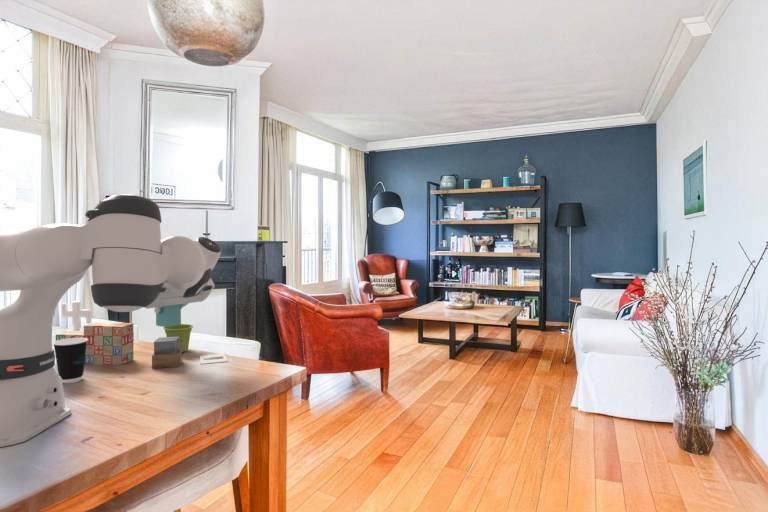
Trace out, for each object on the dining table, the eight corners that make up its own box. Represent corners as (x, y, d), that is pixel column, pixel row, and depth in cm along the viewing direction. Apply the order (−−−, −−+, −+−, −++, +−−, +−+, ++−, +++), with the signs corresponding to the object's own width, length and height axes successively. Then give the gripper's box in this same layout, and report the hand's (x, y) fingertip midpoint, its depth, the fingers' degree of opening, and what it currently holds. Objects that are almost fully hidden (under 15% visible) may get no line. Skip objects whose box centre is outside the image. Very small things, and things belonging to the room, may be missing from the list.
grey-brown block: (177, 367, 137) (176, 341, 137) (151, 368, 135) (151, 342, 135) (181, 361, 144) (181, 336, 144) (157, 362, 142) (157, 337, 142)
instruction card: (227, 361, 144) (227, 360, 144) (200, 364, 140) (200, 363, 140) (225, 354, 153) (225, 353, 153) (199, 356, 150) (199, 355, 150)
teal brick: (180, 324, 140) (180, 298, 140) (165, 327, 136) (165, 300, 135) (171, 322, 143) (170, 297, 142) (156, 325, 138) (155, 299, 138)
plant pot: (193, 347, 162) (193, 323, 162) (192, 353, 153) (192, 328, 153) (165, 349, 159) (164, 324, 159) (162, 355, 150) (161, 330, 150)
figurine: (89, 341, 170) (88, 301, 169) (59, 342, 167) (58, 302, 166) (93, 337, 177) (93, 299, 176) (65, 338, 174) (64, 300, 173)
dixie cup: (86, 382, 122) (86, 342, 122) (50, 386, 118) (50, 345, 118) (90, 374, 129) (89, 336, 129) (56, 378, 125) (55, 339, 125)
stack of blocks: (55, 364, 140) (54, 324, 139) (70, 358, 146) (69, 321, 146) (122, 365, 139) (121, 325, 138) (134, 360, 145) (133, 322, 145)
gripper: (157, 292, 124) (138, 323, 129) (219, 285, 141) (200, 314, 147) (148, 275, 126) (129, 307, 132) (210, 271, 143) (191, 299, 149)
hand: (167, 310), depth 139 cm, fingers closed on teal brick, 5 cm apart
